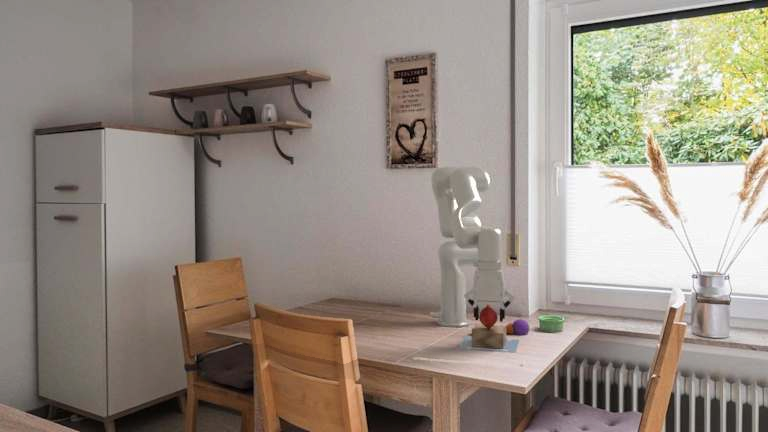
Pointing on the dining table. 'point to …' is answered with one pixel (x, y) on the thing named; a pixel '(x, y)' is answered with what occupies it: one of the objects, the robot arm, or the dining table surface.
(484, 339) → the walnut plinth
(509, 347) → the blueprint mat
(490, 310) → the onion
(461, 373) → the dining table surface
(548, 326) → the ramekin
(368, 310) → the dining table surface
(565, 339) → the dining table surface
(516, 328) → the maraca
